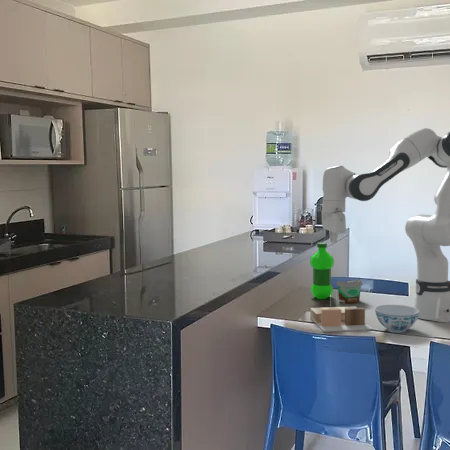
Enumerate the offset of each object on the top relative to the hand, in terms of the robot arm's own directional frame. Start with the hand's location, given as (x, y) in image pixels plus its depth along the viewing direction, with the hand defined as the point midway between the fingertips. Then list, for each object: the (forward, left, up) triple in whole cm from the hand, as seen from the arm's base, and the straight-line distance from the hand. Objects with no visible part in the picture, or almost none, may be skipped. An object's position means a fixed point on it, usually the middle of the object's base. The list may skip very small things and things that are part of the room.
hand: (333, 242), depth 215 cm
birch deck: (+1, +7, -29) cm, 30 cm away
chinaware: (-16, +24, -29) cm, 41 cm away
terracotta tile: (+5, +16, -26) cm, 31 cm away
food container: (-14, -18, -29) cm, 37 cm away
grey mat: (+1, +17, -29) cm, 34 cm away
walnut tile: (-3, +16, -26) cm, 30 cm away
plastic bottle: (-4, -30, -29) cm, 42 cm away
